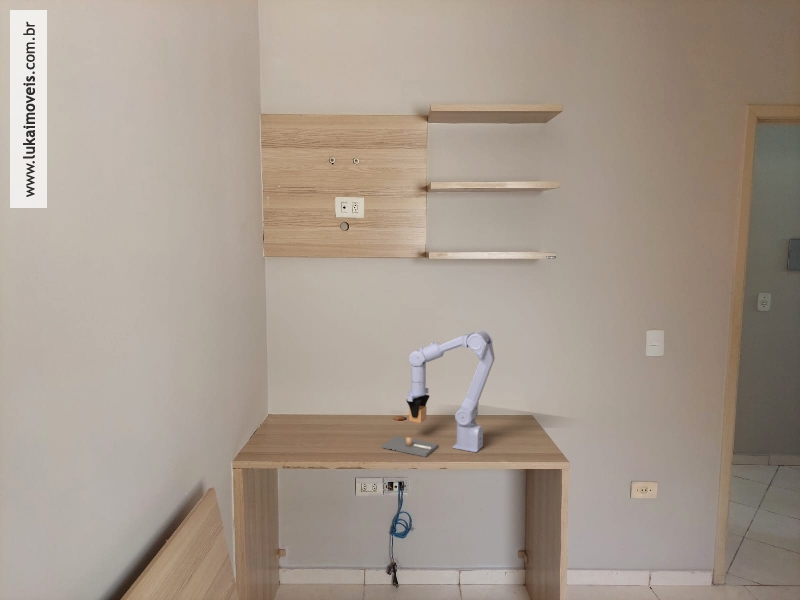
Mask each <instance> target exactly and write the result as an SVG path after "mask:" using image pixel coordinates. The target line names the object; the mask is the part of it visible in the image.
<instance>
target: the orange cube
mask: <svg viewBox="0 0 800 600" xmlns="http://www.w3.org/2000/svg"><path fill="white" fill-rule="evenodd" d="M427 411H428V410H427V406H426V407H425V406H419V412H418V417H417V418H415V417H412V415H411V410H410V407H409V411H408V412H409V413H408V415H409V416H408V418H409V419H408V421H409V422H414V423H419V424H421V423H423V422H425V421H426V420H427Z"/></svg>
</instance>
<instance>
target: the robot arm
mask: <svg viewBox="0 0 800 600" xmlns="http://www.w3.org/2000/svg"><path fill="white" fill-rule="evenodd" d="M460 347H463V348H465V349H467V348H469V349H470V350H471V351H472V352H474V353H473V354H475V355H476V356H477V358H478V360H479V362H478V364H477V367H476V369H475V372H474V375H473V378H472V380H471V382H470V384H469V385H470V386H469V388H468V391H467V393H466V396H465V398H464V400H463V402H462V403H461V406H460V408H459V409H458V410H457V411H456V412H455V414H454V418H455V422H456V442H455V444H454V445H453V446H452V449H457V450H462V451H468V452H472V453H478V451H480V450H481V449H482V448H483V446H484V444H483V442H484V440H483V439H484V428H483V426H482V425H479V424H477V421H476V419H475V418H477V416H478V414H479V413H478V412H479V410H478V408H479V400H480V398H481V396H482V393H483V392H484V388H485V385H486V383H487V380H488V377H489V375H490V372H491V369H492V366H493V364H494V362H495V352H494V347H493V339H492V337H491V336H490V334H489V333H488V332H487V331H485V330H483V329H482V330H477V331H476V332H475V331H474V332H469V333H466V334H462V335H460V336H458V337H456V338H453V339H451V340H449V341H446V342H444V343H440V342H434V341H433V342H431V343H430V344H429V345H427V346H425V347H424V346H421V347H419V349H417V350H414V351H412V352H411V353H410V354H409V356H408V362H409V363H410V390H408V392H407V393H408V395H407V397H406V403H407V405H408V407H409V408H410V410H411V415H412V417H415V418H417V417H418V412H419V406H425V407H427V403H428V401H429V399H430V394H429V388H428V387H427V386H426V385H427V384H426V378H427V377H426V376H427V372H426V371H427V370H426V367H427V366H426V365H427V363H429V362H432V361H434V360H437V359H439V358H442V357H443V356H444V354H445V352H448V351H451V350H454V349H457V348H460Z"/></svg>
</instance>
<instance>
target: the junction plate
mask: <svg viewBox="0 0 800 600" xmlns="http://www.w3.org/2000/svg"><path fill="white" fill-rule="evenodd" d="M438 447H439V444H438V443H434V442H429V441H423V440H419V439H414V438H413V437H412V436H406V437H401V436H397V435H396V436H394V437H392V438H391V439H389V440H387V442H385V443H383V444H381V448H382V449H385V448H386V450H390V449H392V451H395V450H396V452H400V453H401V452H402V453H406V454H409V455H410V454H411V455H415V456H419V457H427V456H429V455H430V454H431V453H432V452H434V451H435V450H437V448H438Z"/></svg>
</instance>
